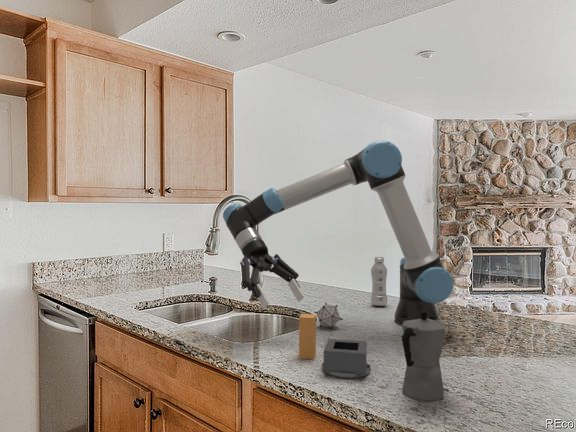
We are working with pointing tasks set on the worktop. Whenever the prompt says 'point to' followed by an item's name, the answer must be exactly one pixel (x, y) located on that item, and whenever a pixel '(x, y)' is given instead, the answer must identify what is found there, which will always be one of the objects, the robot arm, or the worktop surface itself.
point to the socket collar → (346, 359)
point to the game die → (328, 315)
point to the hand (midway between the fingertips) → (284, 302)
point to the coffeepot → (423, 358)
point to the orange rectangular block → (307, 336)
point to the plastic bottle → (379, 283)
